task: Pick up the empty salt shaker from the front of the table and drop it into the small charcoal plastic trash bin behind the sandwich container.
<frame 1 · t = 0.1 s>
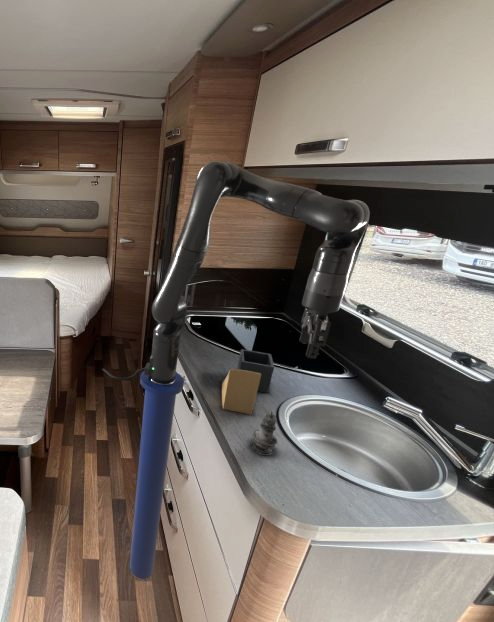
hand: (307, 349, 85), 27 cm above the countertop, tool pointing down, fingers open, 8 cm apart
sandwich container: (235, 399, 111), on the countertop, touching trash bin
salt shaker: (261, 448, 90), on the countertop
trash bin: (251, 382, 119), on the countertop
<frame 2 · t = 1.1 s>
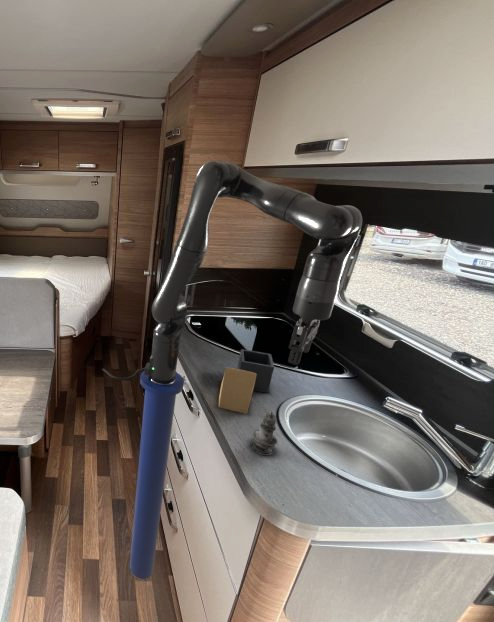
hand: (298, 357, 84), 26 cm above the countertop, tool pointing down, fingers open, 8 cm apart
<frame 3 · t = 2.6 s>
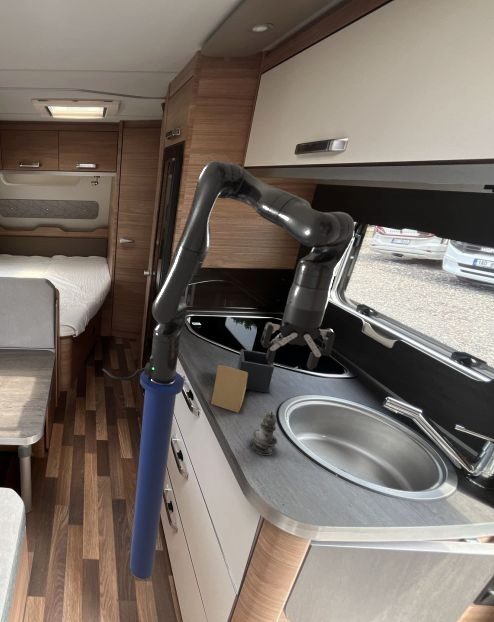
hand: (289, 365, 82), 25 cm above the countertop, tool pointing down, fingers open, 8 cm apart
sandwich container: (229, 397, 112), on the countertop, touching trash bin
everything else where it was.
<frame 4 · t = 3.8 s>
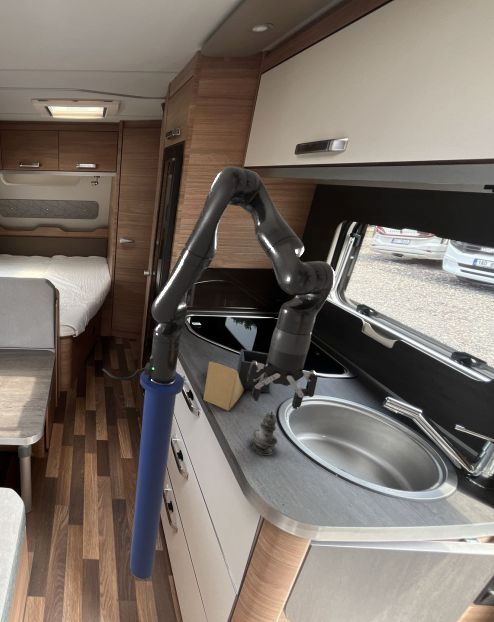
hand: (274, 403, 84), 15 cm above the countertop, tool pointing down, fingers open, 8 cm apart
sandwich container: (224, 396, 112), on the countertop, touching trash bin
everything else where it was.
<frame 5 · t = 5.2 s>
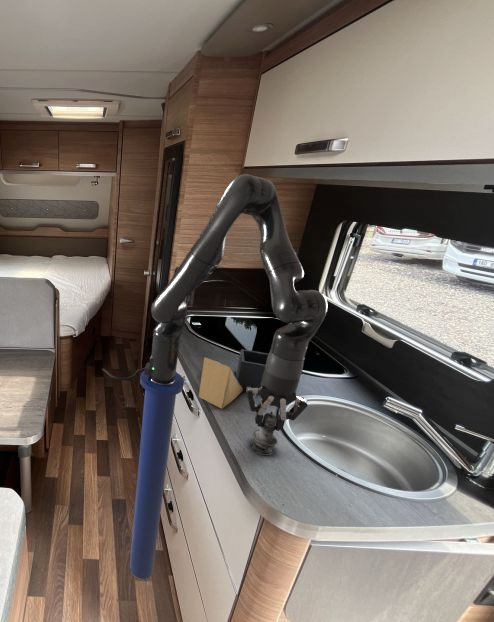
hand: (267, 426, 87), 7 cm above the countertop, tool pointing down, fingers closed on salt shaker, 3 cm apart
sandwich container: (221, 393, 113), on the countertop
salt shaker: (261, 448, 90), on the countertop, touching gripper
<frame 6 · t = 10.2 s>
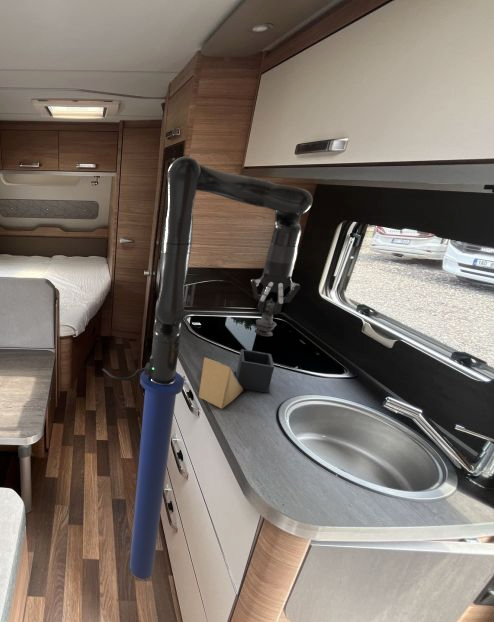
hand: (268, 312, 106), 28 cm above the countertop, tool pointing down, fingers closed on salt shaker, 3 cm apart
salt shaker: (263, 333, 109), point 20 cm above the countertop, touching gripper
everything else where it was.
when the fingers open (8 cm above the countertop, at t = 15.4 s): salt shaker stays where it is, resting on trash bin.
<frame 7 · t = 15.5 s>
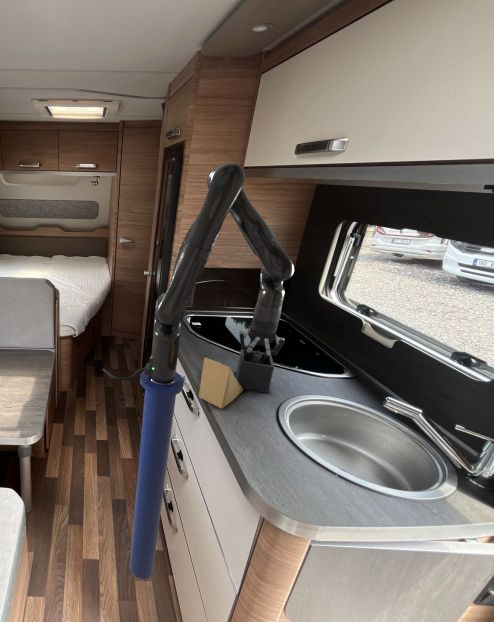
hand: (255, 362, 115), 8 cm above the countertop, tool pointing down, fingers open, 4 cm apart
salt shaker: (251, 380, 118), point 1 cm above the countertop, touching trash bin
everything else where it was.
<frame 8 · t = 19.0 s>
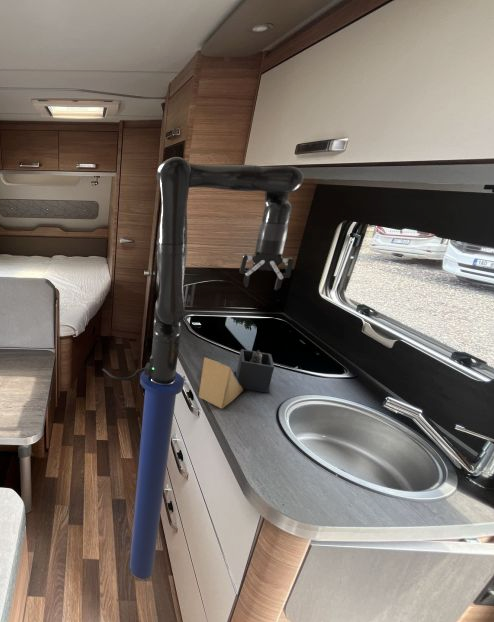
hand: (260, 288, 109), 34 cm above the countertop, tool pointing down, fingers open, 8 cm apart
nothing on the countertop moved.
at the end: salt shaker inside the target area in the trash bin (0.0 cm from its centre), point 0.8 cm above the trash bin's base; the gripper is holding nothing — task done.
